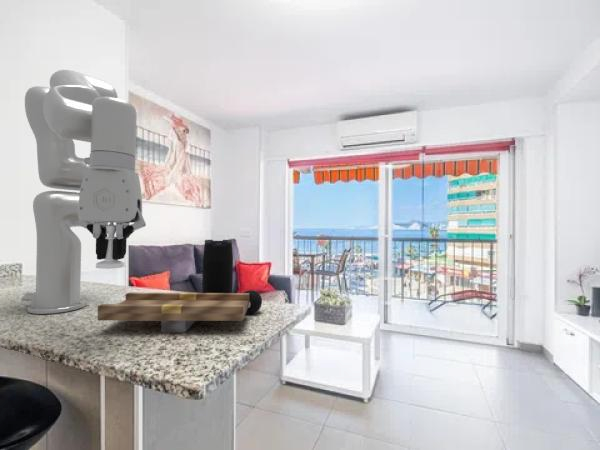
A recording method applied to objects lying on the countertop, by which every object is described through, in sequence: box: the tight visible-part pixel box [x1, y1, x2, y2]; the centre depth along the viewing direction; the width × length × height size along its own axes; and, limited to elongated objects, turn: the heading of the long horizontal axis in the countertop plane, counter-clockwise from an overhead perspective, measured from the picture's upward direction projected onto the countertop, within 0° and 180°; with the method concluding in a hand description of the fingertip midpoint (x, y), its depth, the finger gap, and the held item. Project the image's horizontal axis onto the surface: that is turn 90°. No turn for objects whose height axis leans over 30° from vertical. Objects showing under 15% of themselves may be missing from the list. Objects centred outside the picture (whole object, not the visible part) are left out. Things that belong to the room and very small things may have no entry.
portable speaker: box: [201, 239, 234, 293], centre depth 88 cm, size 8×9×19 cm
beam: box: [97, 292, 249, 333], centre depth 72 cm, size 30×13×6 cm, turn 93°
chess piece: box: [95, 222, 126, 270], centre depth 60 cm, size 5×5×10 cm
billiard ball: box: [243, 289, 263, 314], centre depth 82 cm, size 6×6×6 cm
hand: (111, 258), depth 60 cm, fingers closed on chess piece
